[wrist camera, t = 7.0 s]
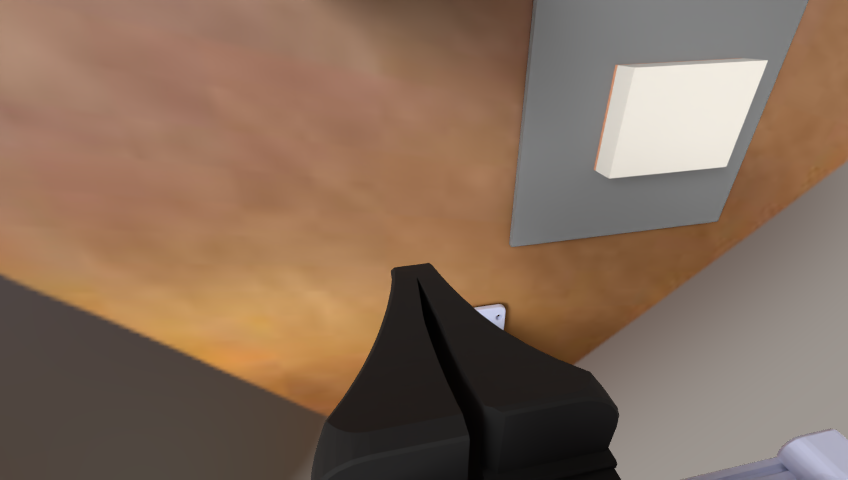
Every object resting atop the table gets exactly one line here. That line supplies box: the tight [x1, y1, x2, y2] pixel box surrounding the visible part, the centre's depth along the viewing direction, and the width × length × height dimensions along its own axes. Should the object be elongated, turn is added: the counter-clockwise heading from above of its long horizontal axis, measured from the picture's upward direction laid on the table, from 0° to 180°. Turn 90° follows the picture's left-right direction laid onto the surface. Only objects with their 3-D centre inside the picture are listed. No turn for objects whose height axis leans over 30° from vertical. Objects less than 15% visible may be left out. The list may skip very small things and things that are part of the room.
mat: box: [509, 0, 809, 247], centre depth 23 cm, size 16×16×1 cm
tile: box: [594, 58, 768, 179], centre depth 22 cm, size 6×2×8 cm
